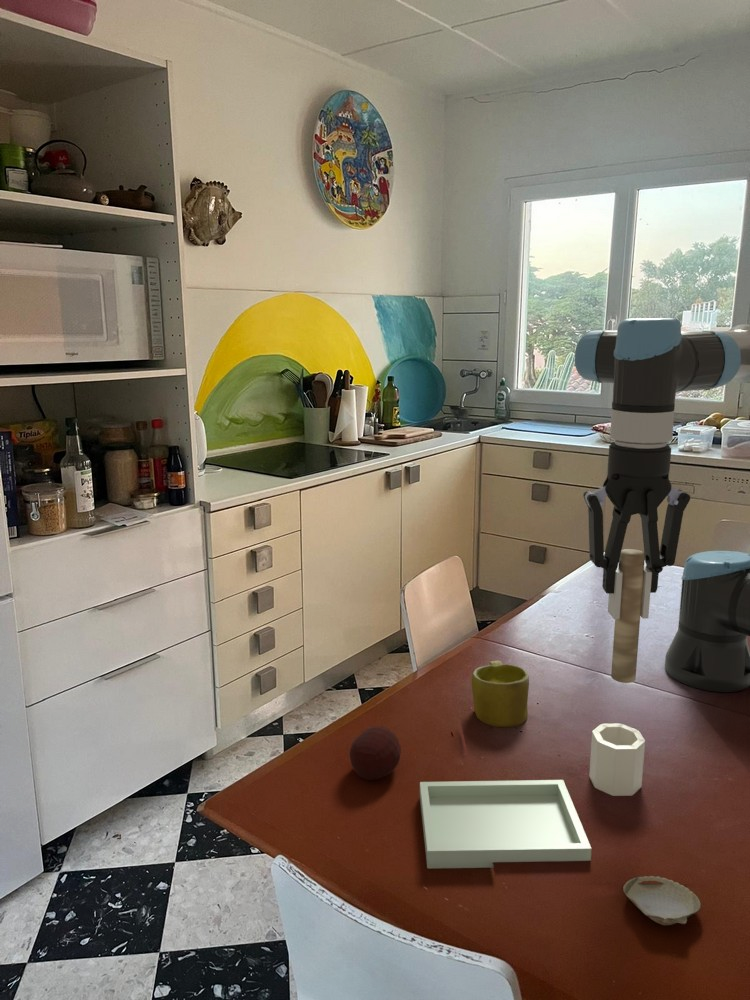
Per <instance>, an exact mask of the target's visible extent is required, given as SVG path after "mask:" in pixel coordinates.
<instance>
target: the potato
mask: <svg viewBox="0 0 750 1000" xmlns="http://www.w3.org/2000/svg"><path fill="white" fill-rule="evenodd" d="M401 750H402V747H401V745H400V742H399V739H398V737H397V735H396V734H395V733H394V732H393V731H392V730H391V729H389V728H387V727H385V726H383V725H373V726H369V727H368V728H366V729H365V730H363V732H361V733H360V734H359V735H358V736H357V737H355V738H354V740H353V741H352V743H351V746H350V750H349V760H350V763H351V766H352V769H353V770H354V772H355V773H356V774H357V775H358V776H359V777H360V778H362V779H365V780H367V781H368V780H369V781H370V780H373V781H374V780H378V779H382V778H384V777H387V776H388V775H390V774H391V773H392V772H393V771H394V770H395V769H396V767H397V766H398V765H399V763H400V759H401V753H402V752H401Z"/></svg>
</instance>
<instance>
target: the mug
mask: <svg viewBox="0 0 750 1000" xmlns="http://www.w3.org/2000/svg"><path fill="white" fill-rule="evenodd" d="M529 686H530V676H529V674H528V672H527V671H526V670H525V669H524V668H522V667H521V666H518V665H513V664H503V663H502V661H501V660H492V661H491V660H490V663H489V664H488V665H484V666H479V667H477V668H475V670H474V671H473V672H472V676H471V690H472V701H473V709H474V714H475V717H476V718H477V719H478V721H481V722H482V723H484V724H486V725H489V726H492V727H494V728H495V727H497V728H511V727H517V726H520V725H522V724H524V723H525V722H526V720H527V718H528V713H529V711H528V709H529V708H528V699H529Z"/></svg>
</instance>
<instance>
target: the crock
mask: <svg viewBox="0 0 750 1000" xmlns="http://www.w3.org/2000/svg"><path fill="white" fill-rule="evenodd" d="M591 731H592V732H591V744H590V745H591V746H590V760H589V773H588V774H589V775H588V776H589V778H590V781H591V783H592V785H593V787H594V788H595V789H597V790H599V791H601V792H604V794H608V795H610V796H613V797H614V796H615V797H616V796H617V797H620V796H621V797H625V796H629V797H631V796H634V794H636V793H637V792H638V791H639V790H640V789H641V788H642V786H643V784H642V783H643V775H644V774H643V771H644V762H645V761H644V760H645V759H644V758H645V748H646V747H645V746H646V739H645V738H644V737H643V735H642V734H641V732H640V731H639V729H636V728H633V727H631V726H629V725H626V724H624V723H620V722H618V723H601V724H599V725H598V726H597V727H596V728H594V729H593V730H591Z"/></svg>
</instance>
